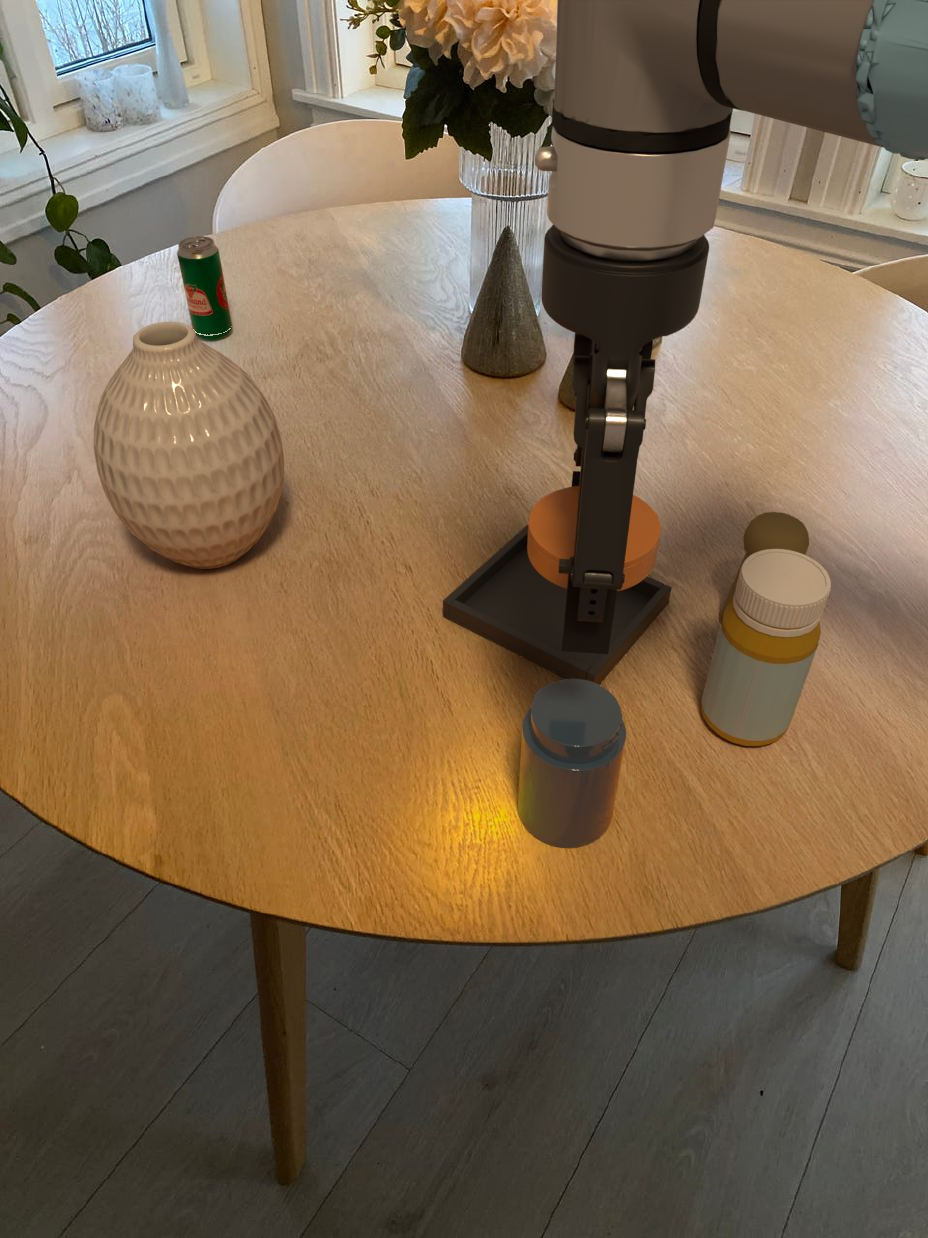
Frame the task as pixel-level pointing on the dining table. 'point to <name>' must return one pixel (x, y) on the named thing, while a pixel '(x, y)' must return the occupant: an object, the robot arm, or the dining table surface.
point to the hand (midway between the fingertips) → (585, 600)
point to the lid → (557, 537)
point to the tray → (545, 613)
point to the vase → (188, 449)
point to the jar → (570, 762)
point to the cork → (770, 540)
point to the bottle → (765, 647)
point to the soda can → (204, 287)
